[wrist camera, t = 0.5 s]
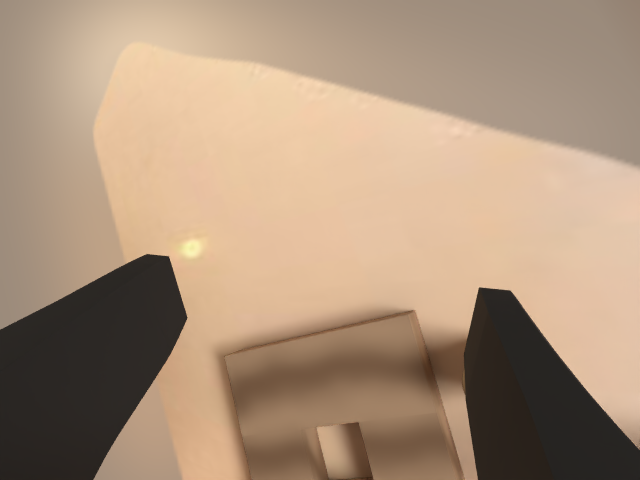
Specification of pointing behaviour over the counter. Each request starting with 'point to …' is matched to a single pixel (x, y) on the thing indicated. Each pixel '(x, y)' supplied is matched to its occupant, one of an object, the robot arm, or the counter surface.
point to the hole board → (344, 402)
